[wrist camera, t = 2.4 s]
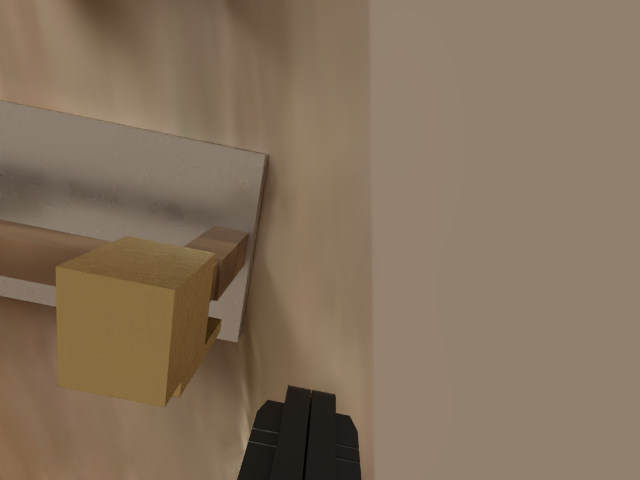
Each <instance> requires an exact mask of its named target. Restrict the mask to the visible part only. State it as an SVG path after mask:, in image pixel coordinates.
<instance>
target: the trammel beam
mask: <svg viewBox="0 0 640 480" xmlns="http://www.w3.org/2000/svg"><path fill="white" fill-rule="evenodd" d="M248 238H249V232H244V231H239V230H234V229H229V228H225V227H220V226H213V227H212V228H210V229H209V230H207V231H206V232H204V233H203V234H201V235H200V236H198V237H197V238H195V239H194V240H192V241H191V242H189V243H188V244H187V245H185V246H184V247H187V248H192V249H197V250H202V251H207V252H212V253H216V254H215V262H214V271H213V279H212V288H211V296H210V302H211V300H213V301H218V299H219V298H220V297H221V295H222V294H223V293H224V292H225V290H226V289H227V288H228V286H229V285H230V284H231V282H232V281H233V280H234V278H235V277H236V276H237V274H238V273H239V272H240V270H241V269H242V268H243V266H244V265H245V259H246V252H247V245H248ZM109 243H111V241H106V240H101V239H96V238H91V237H86V236H81V235H76V234H71V233H66V232H61V231H56V230H51V229H46V228H41V227H36V226H31V225H26V224H21V223H16V222H11V221H6V220H1V219H0V276H4V277H9V278H14V279H19V280H24V281H30V282H35V283H40V284H45V285H50V286H55V287H56V266H58V265H60V264H63V263H65V262H67V261H69V260H72V259H74V258H76V257H79V256H81V255H83V254H86V253H88V252H90V251H92V250H95V249H97V248H99V247H102V246H104V245H106V244H109Z"/></svg>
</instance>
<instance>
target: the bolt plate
mask: <svg viewBox="0 0 640 480" xmlns="http://www.w3.org/2000/svg"><path fill="white" fill-rule="evenodd" d="M268 156H269V155H268V154H263V153H258V152H253V151H248V150H243V149H238V148H233V147H229V146H224V145H219V144H214V143H209V142H204V141H199V140H194V139H189V138H185V137H180V136H175V135H170V134H165V133H160V132H155V131H150V130H145V129H141V128H136V127H131V126H126V125H121V124H116V123H111V122H106V121H101V120H97V119H92V118H87V117H82V116H77V115H72V114H67V113H62V112H58V111H53V110H48V109H43V108H38V107H33V106H28V105H23V104H18V103H14V102H9V101H4V100H0V219H1V220H6V221H11V222H16V223H21V224H26V225H31V226H36V227H41V228H46V229H51V230H56V231H61V232H66V233H71V234H76V235H81V236H86V237H91V238H96V239H101V240H106V241H111V242H113V241H115V240H118V239H120V238H122V237H125V236H132V237H137V238H142V239H147V240H152V241H157V242H162V243H167V244H172V245H177V246H182V247H184V246H185V245H187V244H188V243H189V242H191V241H192V240H194V239H195V238H197V237H198V236H200V235H201V234H203V233H204V232H206V231H207V230H209V229H210V228H212V227H213V226H220V227H225V228H229V229H234V230H239V231H244V232H249V238H248V245H247V252H246V259H245V265H244V266H243V268H242V269H241V270H240V272H239V273H238V274H237V276H236V277H235V278H234V280H233V281H232V282H231V284H230V285H229V286H228V288H227V289H226V290H225V292H224V293H223V294H222V295H221V297H220V298H219V299H218V301H213V300H212V301H211V302H210V305H209V313H208V317H214V318H219V319H222V322H221V329H220V333H219V334H218V336H217V339H222V340H227V341H232V342H238V340H239V338H240V336H241V334H242V328H243V321H244V315H245V308H246V301H247V295H248V288H249V282H250V275H251V268H252V262H253V255H254V248H255V242H256V235H257V229H258V222H259V215H260V209H261V202H262V195H263V189H264V182H265V176H266V169H267V162H268ZM0 296H4V297H9V298H14V299H19V300H24V301H29V302H34V303H39V304H44V305H49V306H54V307H56V287H55V286H50V285H45V284H40V283H35V282H30V281H24V280H19V279H14V278H9V277H4V276H0Z"/></svg>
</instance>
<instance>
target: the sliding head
mask: <svg viewBox="0 0 640 480" xmlns="http://www.w3.org/2000/svg"><path fill="white" fill-rule="evenodd" d="M215 254H216V253H212V252H207V251H202V250H197V249H192V248H187V247H182V246H177V245H172V244H167V243H162V242H157V241H152V240H147V239H142V238H137V237H132V236H125V237H122V238H120V239H118V240H115V241H113V242H111V243H109V244H106V245H104V246H102V247H99V248H97V249H95V250H92V251H90V252H88V253H86V254H83V255H81V256H79V257H76V258H74V259H72V260H69V261H67V262H65V263H63V264H60V265H58V266H56V315H57V365H58V386H59V387H64V388H69V389H74V390H79V391H84V392H90V393H95V394H100V395H105V396H110V397H115V398H121V399H126V400H131V401H136V402H141V403H146V404H151V405H157V406H162V407H165V406H166V404H167V403H168V401H169V400H170V398H171V397H172V396H174V397H179V398H180V396H181V395H182V393H183V391H184V390H185V388H186V387H187V385H188V383H189V382H190V380H191V378H192V377H193V375H194V373H195V372H196V370H197V369H198V367H199V365H200V364H201V362H202V360H203V359H204V357H205V356H206V354H207V352H208V351H209V349H210V347H211V346H212V344H213V343H214V341H215V339H216V338H217V336H218V334H219V333H220V329H221V322H222V319H219V318H214V317H208V313H209V305H210V296H211V288H212V279H213V271H214V262H215ZM211 301H212V300H211Z"/></svg>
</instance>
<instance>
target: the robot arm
mask: <svg viewBox="0 0 640 480" xmlns="http://www.w3.org/2000/svg"><path fill="white" fill-rule="evenodd" d="M310 395H311V397H310ZM358 449H359V444H358V432H357V429H356V427H355V425H354V423H353V421H352V420H351V418H350V416H348V415H343V414H338V413H336V396H335V394H330V393H325V392H320V391H315V390H312V393H311V390H309V389H304V388H299V387H294V386H289V385H288V389H287V394H286V399H285V403H281V402H276V401H271V400H267V401H266V402H265V404H264V405H263V406H262V407H261V408H260V409H259V410H258V411H257V414H256V418H255V421H254V424H253V428H252V431H251V435H250V438H249V442H248V445H247V448H246V451H245V455H244V458H243V462H242V465H241V468H240V472H239V475H238V479H237V480H361V469H360V457H359V451H358Z"/></svg>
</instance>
